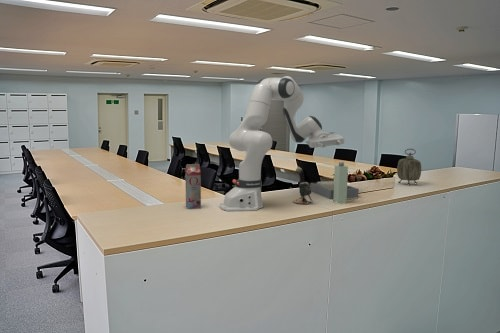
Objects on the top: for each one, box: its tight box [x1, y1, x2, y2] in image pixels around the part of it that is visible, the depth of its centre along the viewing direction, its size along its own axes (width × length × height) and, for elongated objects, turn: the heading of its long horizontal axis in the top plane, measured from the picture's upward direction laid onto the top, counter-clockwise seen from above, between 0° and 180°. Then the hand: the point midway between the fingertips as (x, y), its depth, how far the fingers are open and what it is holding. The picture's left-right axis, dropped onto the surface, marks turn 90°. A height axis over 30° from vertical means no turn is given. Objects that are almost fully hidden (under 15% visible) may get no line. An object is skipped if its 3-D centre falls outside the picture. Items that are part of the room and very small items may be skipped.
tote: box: [309, 182, 360, 201], centre depth 229 cm, size 18×24×6 cm
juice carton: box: [185, 163, 202, 210], centre depth 196 cm, size 7×7×22 cm
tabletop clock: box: [396, 148, 422, 185], centre depth 268 cm, size 14×9×25 cm, turn 77°
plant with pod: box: [292, 166, 313, 205], centre depth 208 cm, size 8×11×20 cm
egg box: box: [315, 180, 334, 190], centre depth 235 cm, size 12×8×6 cm, turn 109°
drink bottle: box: [332, 161, 349, 204], centre depth 210 cm, size 5×5×22 cm
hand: (331, 144), depth 215 cm, fingers open, 8 cm apart
